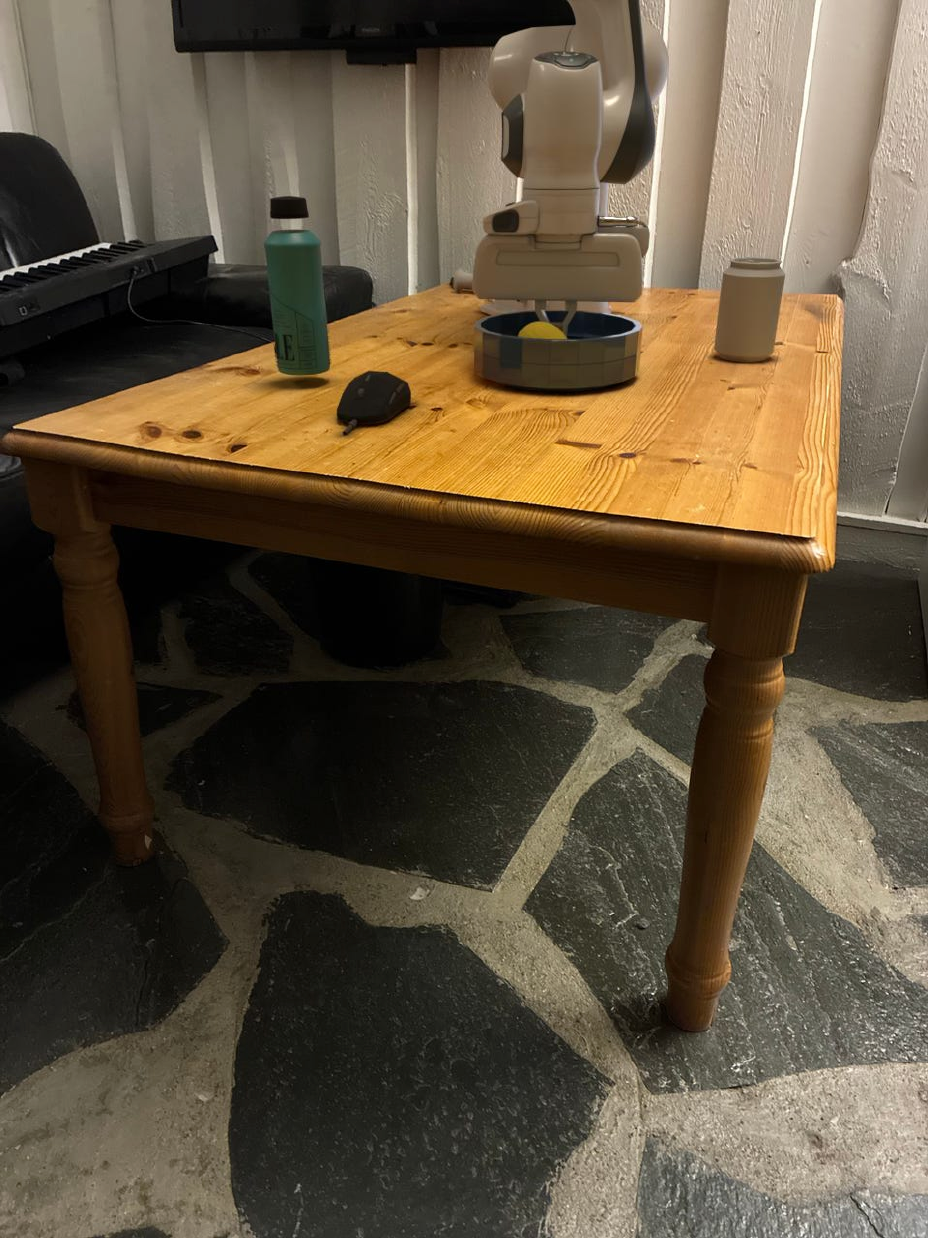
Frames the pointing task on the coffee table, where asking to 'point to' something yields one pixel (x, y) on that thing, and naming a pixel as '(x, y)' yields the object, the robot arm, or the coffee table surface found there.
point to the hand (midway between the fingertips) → (555, 338)
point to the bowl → (558, 351)
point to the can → (749, 309)
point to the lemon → (541, 331)
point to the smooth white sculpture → (462, 280)
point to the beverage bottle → (296, 293)
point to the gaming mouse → (372, 399)
